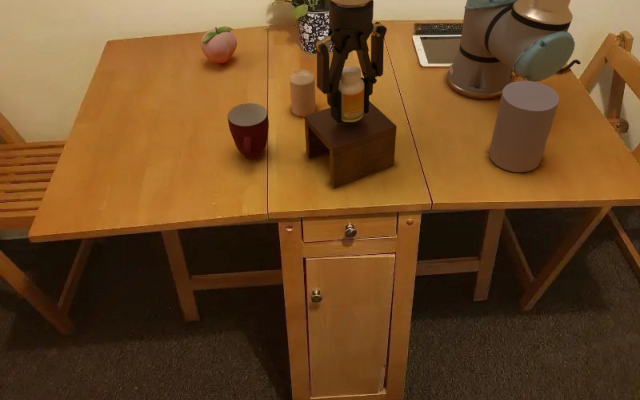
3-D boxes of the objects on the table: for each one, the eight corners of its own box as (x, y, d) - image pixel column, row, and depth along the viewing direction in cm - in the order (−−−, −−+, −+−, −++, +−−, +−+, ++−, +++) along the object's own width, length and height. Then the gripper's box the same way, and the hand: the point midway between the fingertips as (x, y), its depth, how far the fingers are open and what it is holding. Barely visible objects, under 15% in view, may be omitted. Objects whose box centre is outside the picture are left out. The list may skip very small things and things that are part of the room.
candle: (312, 118, 132) (311, 79, 125) (289, 115, 133) (286, 77, 126) (317, 104, 136) (316, 66, 129) (294, 102, 137) (292, 64, 130)
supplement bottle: (369, 114, 113) (370, 70, 106) (351, 126, 110) (351, 82, 103) (348, 103, 116) (348, 60, 109) (330, 115, 113) (329, 71, 106)
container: (484, 141, 124) (497, 80, 113) (533, 141, 123) (551, 80, 113) (493, 173, 116) (508, 111, 106) (545, 173, 116) (565, 111, 106)
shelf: (363, 135, 127) (364, 96, 120) (393, 165, 119) (396, 126, 112) (306, 155, 122) (304, 115, 115) (333, 188, 114) (333, 148, 107)
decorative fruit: (221, 50, 155) (215, 15, 148) (244, 59, 152) (239, 23, 145) (196, 66, 150) (189, 30, 143) (219, 75, 146) (213, 38, 139)
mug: (274, 171, 119) (270, 131, 112) (234, 175, 118) (227, 136, 111) (270, 139, 126) (266, 101, 119) (233, 143, 126) (226, 105, 119)
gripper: (385, -22, 102) (379, 91, 118) (291, 3, 96) (298, 118, 112) (410, -6, 97) (400, 110, 113) (312, 21, 91) (316, 139, 107)
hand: (350, 114), depth 113 cm, fingers closed on supplement bottle, 5 cm apart
